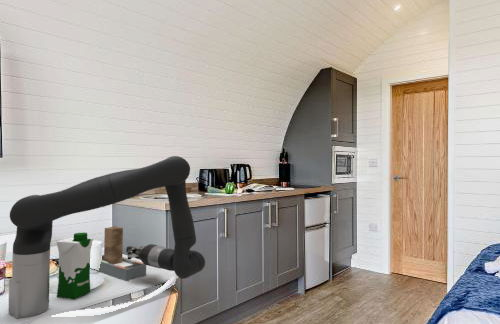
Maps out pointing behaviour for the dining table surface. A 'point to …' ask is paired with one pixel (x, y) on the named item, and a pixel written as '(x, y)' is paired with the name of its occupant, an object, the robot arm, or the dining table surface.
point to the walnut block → (113, 245)
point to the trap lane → (123, 269)
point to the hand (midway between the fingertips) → (128, 249)
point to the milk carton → (74, 266)
